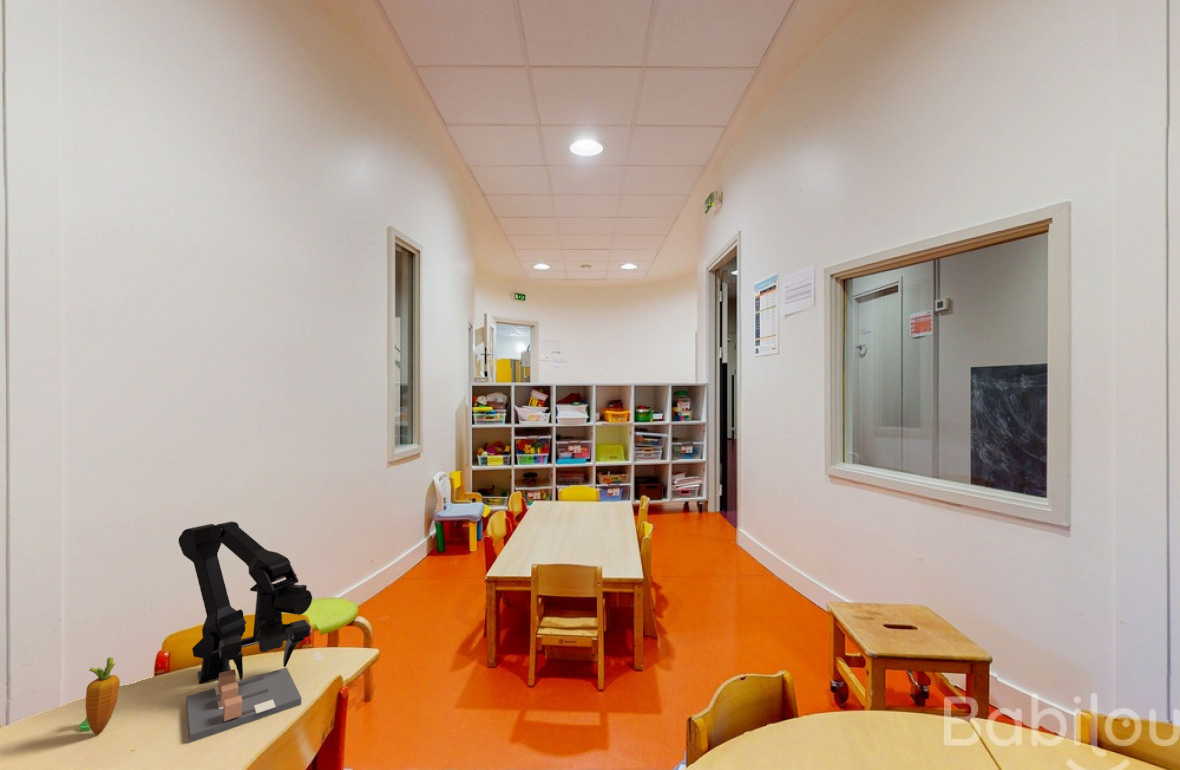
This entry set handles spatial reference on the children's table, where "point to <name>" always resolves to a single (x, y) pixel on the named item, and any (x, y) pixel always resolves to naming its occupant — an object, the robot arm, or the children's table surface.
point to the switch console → (258, 702)
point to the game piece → (84, 726)
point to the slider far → (226, 678)
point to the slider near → (232, 708)
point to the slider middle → (228, 692)
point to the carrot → (101, 697)
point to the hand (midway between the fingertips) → (263, 672)
